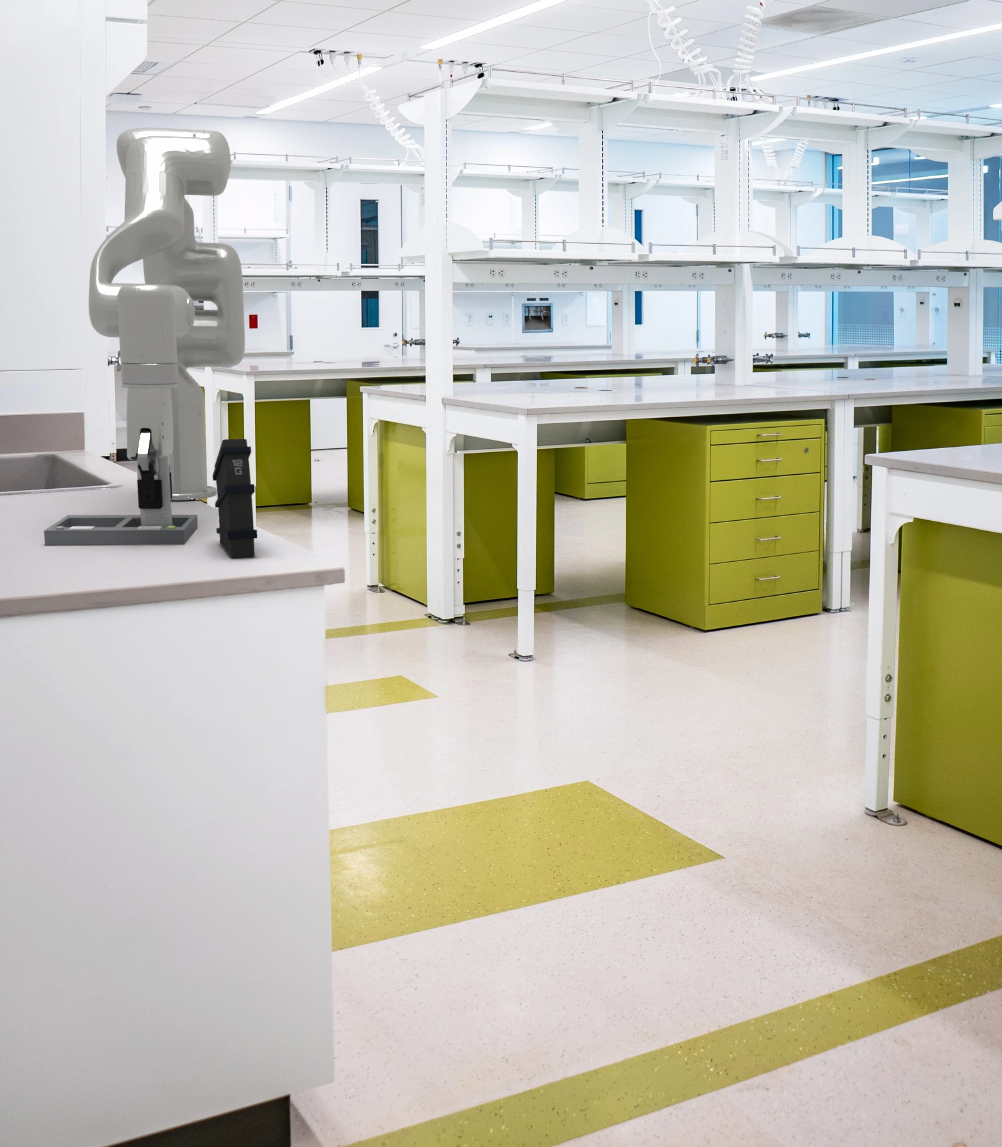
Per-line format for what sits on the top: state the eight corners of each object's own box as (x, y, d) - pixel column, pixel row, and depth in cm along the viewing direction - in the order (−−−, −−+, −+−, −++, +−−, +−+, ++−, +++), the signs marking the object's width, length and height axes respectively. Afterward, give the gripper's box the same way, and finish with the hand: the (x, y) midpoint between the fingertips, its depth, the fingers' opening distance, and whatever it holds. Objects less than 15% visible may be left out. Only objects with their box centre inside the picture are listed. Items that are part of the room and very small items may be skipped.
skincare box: (141, 533, 170) (136, 450, 168) (171, 532, 172) (167, 449, 169) (141, 541, 165) (136, 455, 162) (173, 540, 166) (169, 454, 163)
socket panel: (68, 528, 173) (67, 513, 173) (197, 528, 175) (197, 512, 175) (44, 545, 160) (43, 528, 160) (184, 544, 162) (183, 527, 162)
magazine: (231, 550, 150) (220, 438, 153) (220, 575, 162) (210, 471, 165) (261, 549, 151) (249, 437, 154) (248, 574, 163) (237, 470, 166)
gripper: (134, 373, 172) (140, 495, 175) (108, 379, 155) (115, 514, 159) (187, 373, 172) (192, 495, 176) (167, 380, 156) (173, 514, 159)
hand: (155, 503), depth 167 cm, fingers open, 7 cm apart
